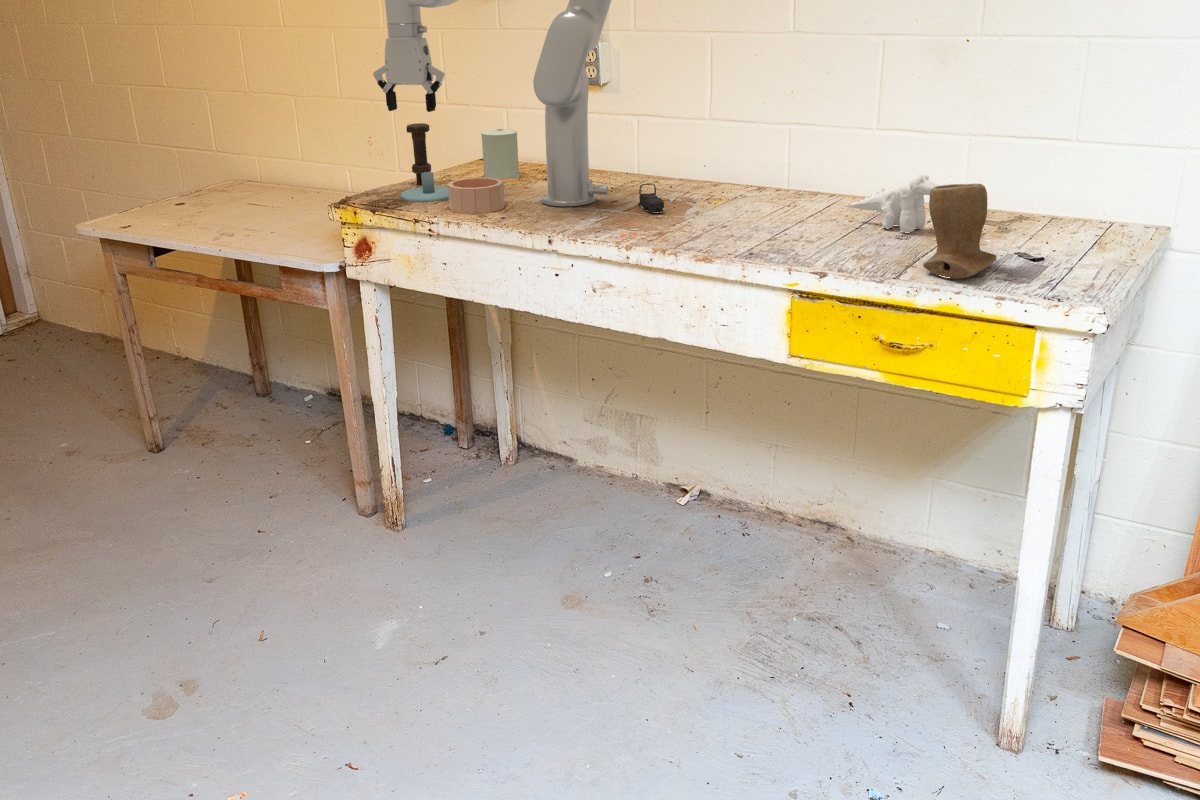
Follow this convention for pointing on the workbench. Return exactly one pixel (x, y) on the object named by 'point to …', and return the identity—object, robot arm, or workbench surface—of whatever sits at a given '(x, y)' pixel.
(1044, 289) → the workbench surface
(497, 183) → the bowl
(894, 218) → the white dinosaur figurine
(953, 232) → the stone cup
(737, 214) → the workbench surface
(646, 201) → the reflex sight
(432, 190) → the lid
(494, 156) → the can
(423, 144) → the bolt
